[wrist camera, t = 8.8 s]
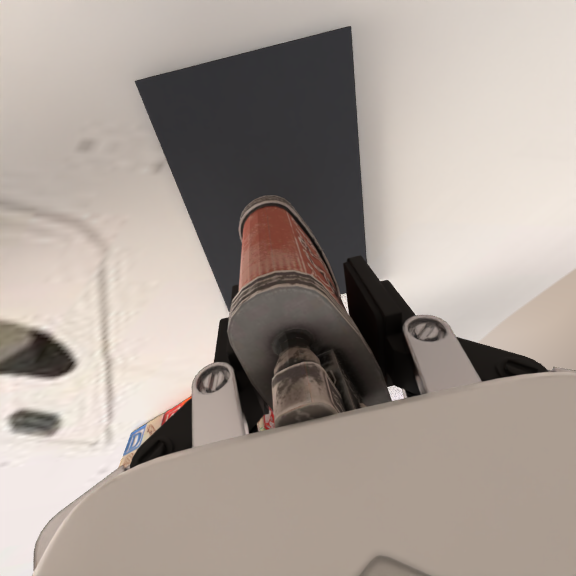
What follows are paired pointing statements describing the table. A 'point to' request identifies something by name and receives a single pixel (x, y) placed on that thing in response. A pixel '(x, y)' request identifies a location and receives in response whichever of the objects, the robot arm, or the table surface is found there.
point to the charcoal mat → (265, 144)
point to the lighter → (297, 322)
